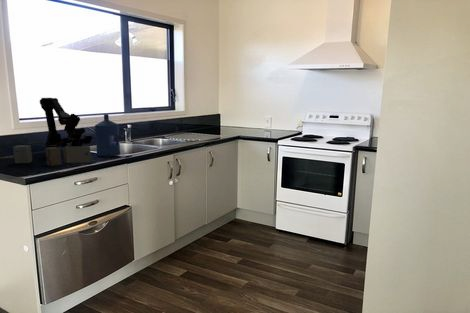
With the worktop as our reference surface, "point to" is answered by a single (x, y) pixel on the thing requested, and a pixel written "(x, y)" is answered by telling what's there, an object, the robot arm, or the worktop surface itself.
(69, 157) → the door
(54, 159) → the oak post
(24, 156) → the small box
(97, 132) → the water jug
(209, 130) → the worktop surface
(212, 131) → the worktop surface
